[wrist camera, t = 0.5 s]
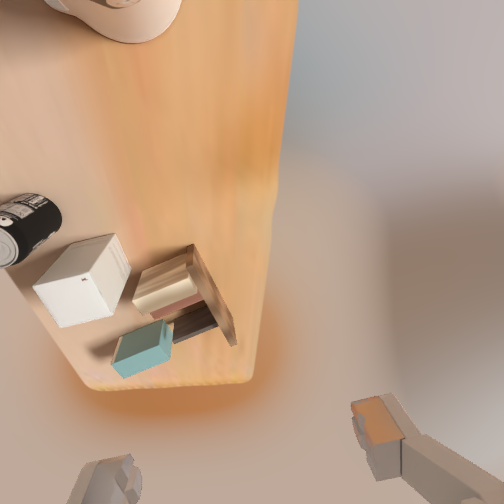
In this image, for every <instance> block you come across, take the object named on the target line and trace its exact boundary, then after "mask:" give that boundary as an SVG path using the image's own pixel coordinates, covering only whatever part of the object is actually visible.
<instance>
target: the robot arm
mask: <svg viewBox="0 0 504 504" xmlns="http://www.w3.org/2000/svg"><path fill="white" fill-rule="evenodd" d="M44 1H45V2H46V3H47V4H48V5H49V6H50V7H52V8H53V9H55V10H57V11H60V12H63V13H66V14H70V15H73V16H76V17H78V18H79V19H81V20H82V21H84V22H85V23H86V24H88V25H89V26H90V27H92V28H93V29H94V30H96V31H97V32H99V33H100V34H102V35H104V36H106V37H108V38H110V39H113V40H116V41H119V42H124V43H141V42H146V41H149V40H151V39H153V38H155V37H157V36H159V35H160V34H162V33H163V32H164V31H165V30H166V29H167V28H168V27H169V26H170V24H171V23H172V22H173V20H174V18H175V17H176V15H177V13H178V10H179V7H180V4H181V1H182V0H44ZM351 410H352V412H353V415H354V416H353V417H352V422H353V427H354V431H355V434H356V437H357V440H358V442H359V444H360V446H361V448H363V449H364V450H365V451H366V456H367V462H368V464H369V466H370V468H371V470H372V473H373V475H374V477H375V479H376V481H381V480H386V479H391V478H396V477H401V476H402V479H404V480H405V481H406V482H407V483H408V484H409V485H410V486H411V487H413V488H414V489H415V490H416V491H417V492H418V493H419V494H421V495H422V496H423V497H424V498H425V499H426V500H427V501H428V502H429V503H431V504H504V482H502V481H501V480H499V479H497V478H496V477H494V476H492V475H491V474H489V473H488V472H486V471H485V470H483V469H481V468H480V467H478V466H477V465H475V464H473V463H472V462H470V461H469V460H467V459H465V458H464V457H462V456H460V455H459V454H457V453H456V452H454V451H452V450H451V449H449V448H448V447H446V446H444V445H443V444H441V443H440V442H438V441H436V440H435V439H433V438H432V437H430V436H428V435H427V434H424V435H421V433H420V431H419V430H418V429H417V427H416V426H415V424H414V423H413V421H412V420H411V418H410V417H409V415H408V414H407V413H406V411H405V410H404V408H403V407H402V406H401V404H400V403H399V401H398V399H397V398H396V397H395V395H394V394H392V393H389V394H384V395H380V396H374V397H370V398H366V399H362V400H358V401H354V402H351ZM133 461H134V459H133V457H132V456H131V454H127V455H122V456H118V457H113V458H108V459H103V460H98V461H94V462H89V463H86V464H85V466H84V467H83V468H82V470H81V472H80V474H79V476H78V479H77V481H76V483H75V486H74V488H73V490H72V492H71V495H70V497H69V499H68V502H67V504H136V503H137V502H138V500H139V499H140V494H141V490H142V476H141V472H140V470H139V468H138V467H136V466H134V465H133Z"/></svg>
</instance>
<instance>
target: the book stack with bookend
mask: <svg viewBox="0 0 504 504" xmlns="http://www.w3.org/2000/svg"><path fill="white" fill-rule="evenodd" d="M202 300H204V301H205V302H206V304H207V306H206V307H203V308H201V309H198V310H196V311H193V312H191V313H189V314H186V315H184V316H181V317H179V318H176V319H175V321H174V330H173V339H172V341H173V343H174V344H176V343H178V342H181V341H183V340H186V339H188V338H191V337H193V336H195V335H198V334H200V333H203V332H205V331H208V330H210V329H213V328H215V327H218V326H219V327H220V329H221V330H222V332H223V334H224V336H225V337H226V339H227V341H228V343H229V344H230V346H231V347H232V346H234V345H237V340H236V334H235V328H234V322H233V317H232V315H231V313H230V311H229V310H228V308H227V306H226V304H225V302H224V300H223V298H222V296H221V294H220V293H219V291H218V289H217V287H216V285H215V283H214V281H213V279H212V277H211V275H210V274H209V272H208V270H207V268H206V266H205V264H204V262H203V260H202V258H201V257H200V255H199V253H198V251H197V249H196V247H195V245H194V244H192V245H190V246H187V253H185V254H182V255H180V256H177V257H175V258H172V259H170V260H168V261H165V262H163V263H160V264H158V265H155V266H153V267H151V268H148V269H146V270H143V271H142V274H141V277H140V280H139V283H138V285H137V288H136V291H135V294H134V297H133V300H132V302H133V303H134V304H135V306H136V307H137V309H138V310H139V311H140V313H141V314H142V315H145V314H148V313H150V314H151V315H152V317H153V318H154V320H155V319H158V318H160V317H163V316H165V315H167V314H170V313H172V312H175V311H177V310H180V309H182V308H185V307H187V306H189V305H192V304H194V303H197V302H199V301H202Z"/></svg>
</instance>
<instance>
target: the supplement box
mask: <svg viewBox="0 0 504 504" xmlns="http://www.w3.org/2000/svg"><path fill="white" fill-rule="evenodd" d="M130 272H131V267H130V264H129V262H128V260H127V258H126V256H125V253H124V251H123V249H122V247H121V245H120V242H119V240H118V238H117V236H116V234H110V235H106V236H102V237H97V238H93V239H89V240H84V241H80V242H76V243H72V244H71V245H70V246H69V247H68V248H67V249H66V250H65V251H64V252H63V253H62V254H61V256H60V257H59V258H58V259H57V260H56V261H55V262H54V263H53V264H52V265H51V266H50V267H49V269H48V270H47V271H46V272H45V273H44V274H43V275H42V276H41V277H40V278H39V279H38V281H37V282H36V283H35V284H34V285H33V286H32V287H33V289H34V290H35V292H36V293H37V295H38V296H39V298H40V299H41V301H42V302H43V304H44V305H45V307H46V308H47V310H48V311H49V313H50V314H51V316H52V317H53V319H54V320H55V322H56V323H57V325H58V326H59V328H64V327H68V326H72V325H76V324H80V323H84V322H88V321H92V320H97V319H101V318H105V317H110V316H113V314H114V311H115V309H116V306H117V304H118V301H119V299H120V296H121V294H122V291H123V289H124V287H125V284H126V282H127V279H128V277H129V274H130Z"/></svg>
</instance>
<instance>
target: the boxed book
mask: <svg viewBox="0 0 504 504" xmlns="http://www.w3.org/2000/svg"><path fill="white" fill-rule="evenodd" d="M172 338H173V332H172V331H171V329H170V328H169V327H168V325H167V324H166V322H165V321H164V319H162V320H160V321H157V322H155V323H152V324H150V325H147V326H145V327H143V328H140V329H138V330H135V331H133V332H130V333H128V334H125V335H123V336H121V337H120V338H119V341H118V344H117V346H116V349H115V352H114V355H113V358H112V361H111V365H112V366H113V368H114V369H115V370H116V371H117V372H118V373H119V374H120V375H121V376H122V377H123V379H124V378H127V377H129V376H132V375H134V374H137V373H139V372H141V371H144V370H146V369H149V368H151V367H154V366H156V365H159V364H161V363H164V362H166V361H168V360H170V356H171V347H172Z"/></svg>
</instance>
